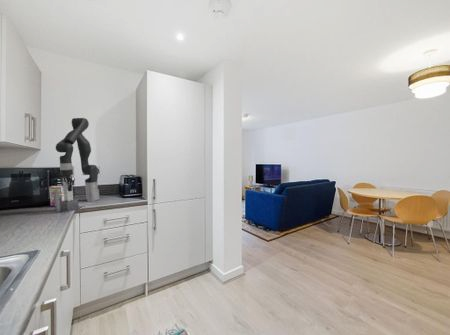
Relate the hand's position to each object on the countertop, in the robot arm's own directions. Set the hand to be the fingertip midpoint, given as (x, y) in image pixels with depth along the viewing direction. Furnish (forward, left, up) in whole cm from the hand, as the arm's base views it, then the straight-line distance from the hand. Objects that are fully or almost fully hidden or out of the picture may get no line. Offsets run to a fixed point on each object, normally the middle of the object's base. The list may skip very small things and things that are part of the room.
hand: (68, 190), depth 152 cm
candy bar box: (-5, -22, -15) cm, 27 cm away
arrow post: (+7, 0, -15) cm, 16 cm away
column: (0, 0, -8) cm, 8 cm away
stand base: (0, 0, -15) cm, 15 cm away
